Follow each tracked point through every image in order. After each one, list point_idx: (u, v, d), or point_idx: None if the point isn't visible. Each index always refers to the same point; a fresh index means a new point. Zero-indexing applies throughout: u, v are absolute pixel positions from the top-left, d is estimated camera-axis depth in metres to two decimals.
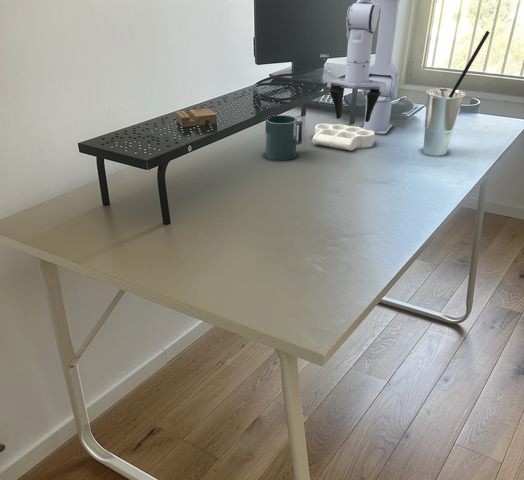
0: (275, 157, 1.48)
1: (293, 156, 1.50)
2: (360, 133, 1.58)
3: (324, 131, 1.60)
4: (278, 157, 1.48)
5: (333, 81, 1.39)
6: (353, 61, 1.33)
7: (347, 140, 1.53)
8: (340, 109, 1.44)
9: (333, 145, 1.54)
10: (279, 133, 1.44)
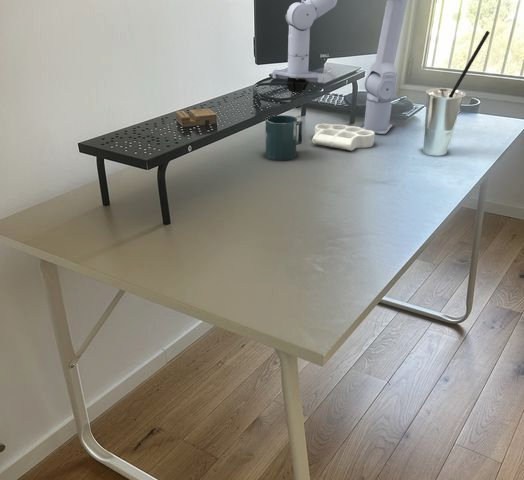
0: (275, 157, 1.48)
1: (293, 156, 1.50)
2: (360, 133, 1.58)
3: (324, 131, 1.60)
4: (278, 157, 1.48)
5: (277, 73, 1.55)
6: (288, 53, 1.51)
7: (347, 140, 1.53)
8: None
9: (333, 145, 1.54)
10: (279, 133, 1.44)
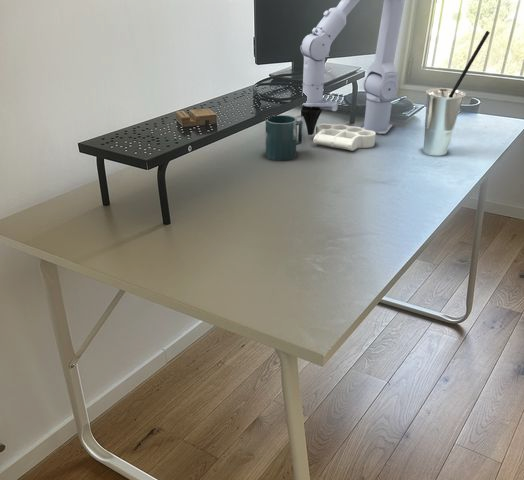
0: (275, 157, 1.48)
1: (293, 156, 1.50)
2: (361, 133, 1.58)
3: (325, 131, 1.60)
4: (278, 157, 1.48)
5: None
6: (303, 83, 1.54)
7: (348, 140, 1.53)
8: None
9: (334, 145, 1.54)
10: (279, 133, 1.44)
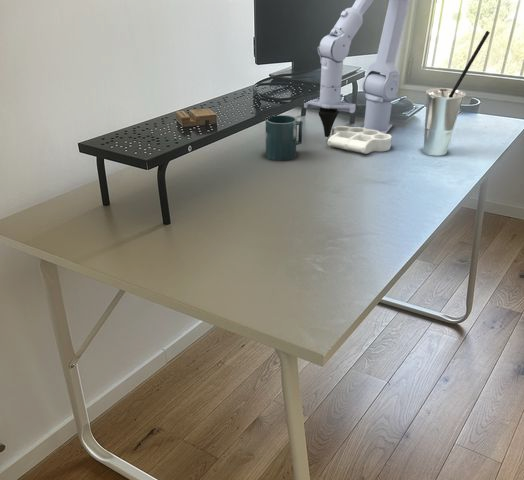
0: (275, 157, 1.48)
1: (293, 156, 1.50)
2: (377, 136, 1.56)
3: (341, 133, 1.58)
4: (278, 157, 1.48)
5: (309, 102, 1.56)
6: (322, 84, 1.51)
7: (362, 143, 1.51)
8: None
9: (348, 148, 1.52)
10: (279, 133, 1.44)
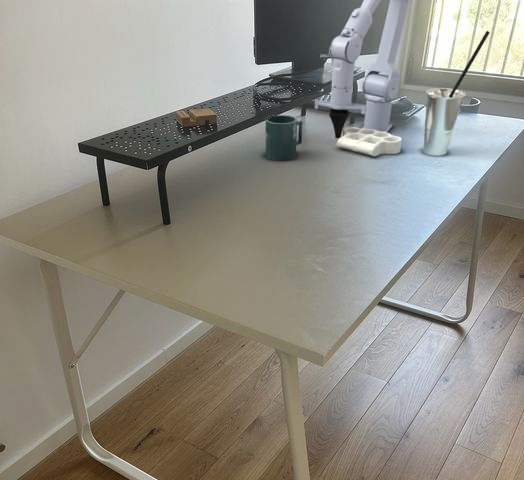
0: (275, 157, 1.48)
1: (293, 156, 1.50)
2: (387, 139, 1.54)
3: (351, 135, 1.57)
4: (278, 157, 1.48)
5: (320, 103, 1.55)
6: (334, 86, 1.50)
7: (370, 145, 1.49)
8: None
9: (356, 150, 1.51)
10: (279, 133, 1.44)
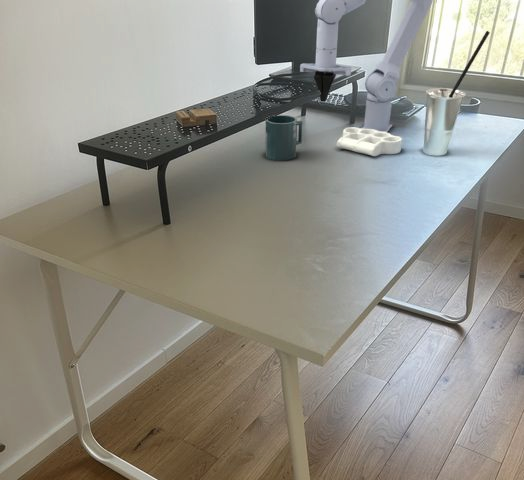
0: (275, 157, 1.48)
1: (293, 156, 1.50)
2: (387, 139, 1.54)
3: (351, 135, 1.57)
4: (278, 157, 1.48)
5: (305, 66, 1.57)
6: (316, 47, 1.53)
7: (371, 145, 1.49)
8: None
9: (356, 150, 1.51)
10: (279, 133, 1.44)
